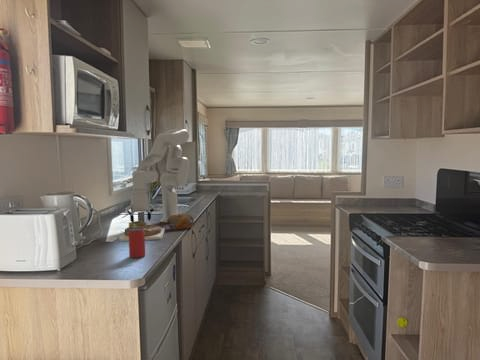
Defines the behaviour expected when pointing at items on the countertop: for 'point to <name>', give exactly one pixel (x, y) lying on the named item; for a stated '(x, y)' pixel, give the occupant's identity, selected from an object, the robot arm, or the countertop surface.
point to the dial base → (150, 237)
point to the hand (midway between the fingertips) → (140, 221)
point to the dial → (147, 228)
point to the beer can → (136, 243)
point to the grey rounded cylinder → (141, 216)
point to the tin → (180, 221)
